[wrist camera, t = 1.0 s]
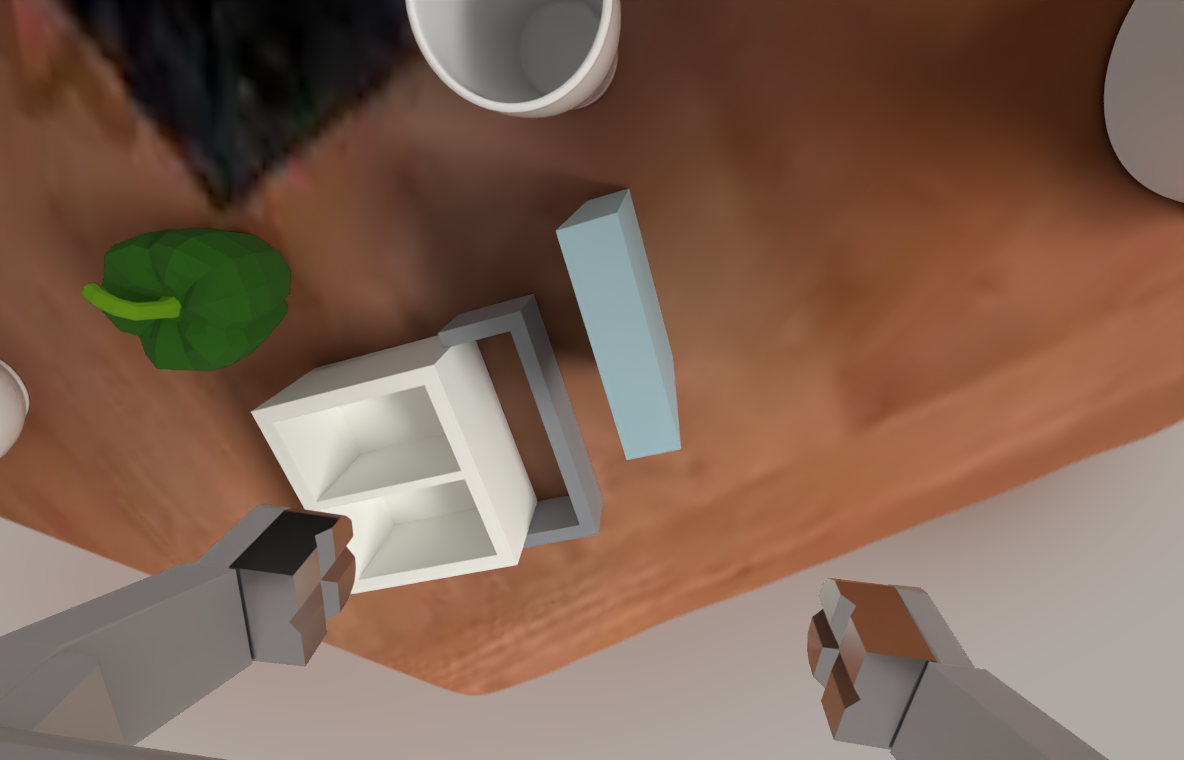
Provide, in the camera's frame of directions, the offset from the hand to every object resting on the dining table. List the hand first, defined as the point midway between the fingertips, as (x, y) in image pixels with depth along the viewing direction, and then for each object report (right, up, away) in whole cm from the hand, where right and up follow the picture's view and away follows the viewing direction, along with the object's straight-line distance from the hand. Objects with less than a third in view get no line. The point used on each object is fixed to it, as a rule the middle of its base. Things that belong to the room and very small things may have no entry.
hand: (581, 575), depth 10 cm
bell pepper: (-22, +10, +29) cm, 38 cm away
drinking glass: (-1, +21, +22) cm, 30 cm away
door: (+3, +9, +26) cm, 28 cm away
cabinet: (-9, 0, +31) cm, 33 cm away
